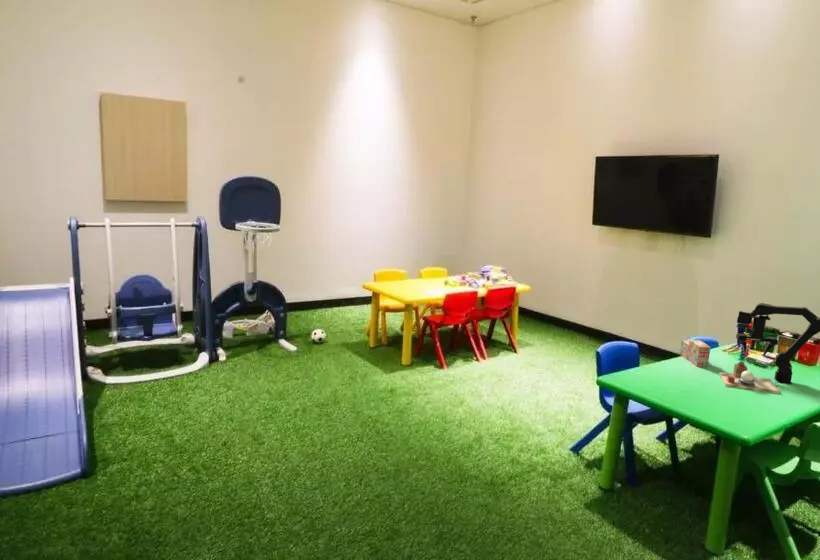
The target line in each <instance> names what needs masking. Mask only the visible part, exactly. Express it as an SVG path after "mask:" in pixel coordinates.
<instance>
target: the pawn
mask: <svg viewBox="0 0 820 560" xmlns="http://www.w3.org/2000/svg"><path fill="white" fill-rule="evenodd" d="M744 371H748V367H747V365H746V364H745V361H741V360H740V361H738V363H734V367H733V372H732V374H733V375H734V377H736V378H740V377H741V374H742V372H744Z"/></svg>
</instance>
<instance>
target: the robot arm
mask: <svg viewBox="0 0 820 560" xmlns="http://www.w3.org/2000/svg"><path fill="white" fill-rule="evenodd" d="M769 315H788V316H789V315H790V316H802V317H803V318H804V319H805V320H807V322H808V323H809V324H808V326H807V328H806V329H805V331H803V332H802V334H801V335H799V337H798V338H797V339H796V340H795V341H794V342H793V343H792V344H791V345H790V347H788V348H787V349H786V350H784V351H783V350H780V351H779V353H778V354H776V355H775V357H774V358H775V360H774V364H775V366H776V367H777V369H776V370H775V373H774V380H775V381H776V382H777V383H781V384H789V385H792V377H793V365H792V364H791V361H792V359H793V357H794V356H795V355H796V354H797V353H798V352H799V351H800V350H801V349H802V348H803V347H804V346H805V345H806V344H807V342H809V341H810V340H811V339H812V337H814V336H815V335H817V334H819V333H820V317H819V316H817V315H816V314H815V313H814V312H812V311H811V310H810V309H809V308H808V307H806V306H802V307H800V306H780V305H779V306H778V305H773V304H769V303H764V302H759V303H758V304H756V306H755V309H753V310H752V311H751V312H746V311H743V310H739V311H738V316H737V317H736V318H737V319H736V324H741V325H745V326H746V325H747V326H748V325H751V324H752V326H751V328H750V327H745V331H744V333H739V332H738V333H737V334H736V335H735V338H736V340H737V341H739V342H740V343H741V345H742V349H743V354H746V353H747V344H748V342H747V340H749V341H756V342H758V341H759V342H763V343H764V342H765V345H764V350H763V356H766V355H767V353H768V352H769V351H770V349H771V348H772V347H775V346H778V345H779V339H778V338H776V337H774V336H767V337H765V331H766V324H767V321H771V320H772V319H771V317H770V316H769ZM747 334H748V335H747Z"/></svg>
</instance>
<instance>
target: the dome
mask: <svg viewBox="0 0 820 560" xmlns="http://www.w3.org/2000/svg"><path fill="white" fill-rule="evenodd" d="M754 377H755V375H754V374H753V372H752V371H750V370H747V371H744V372H742V374H741V377H740V378H739V381H741V382H743V383H747V384H754V382H755V381H754V380H753V379H754Z"/></svg>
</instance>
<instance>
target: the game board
mask: <svg viewBox="0 0 820 560" xmlns="http://www.w3.org/2000/svg"><path fill="white" fill-rule="evenodd" d="M718 376H719V378H720V380H721V382H722V383H723V385H724V386H725V387H728V388H729V387H730V388H737V389H744V390H750V391H757V392H764V393H769V394H771V393H772V394H778V395H780V392H781V391H780V389H779V388H778V387H777V386H776V384H775V383H774V382H773V381H772V379H770V378H768V377H767V378H766V377H758V376H754V379H753V380H754V381H755V382H754V384H747V383H743V382H741V381H739V378H736V377H734V375H733V373H729V372H721V371H719V372H718Z"/></svg>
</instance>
